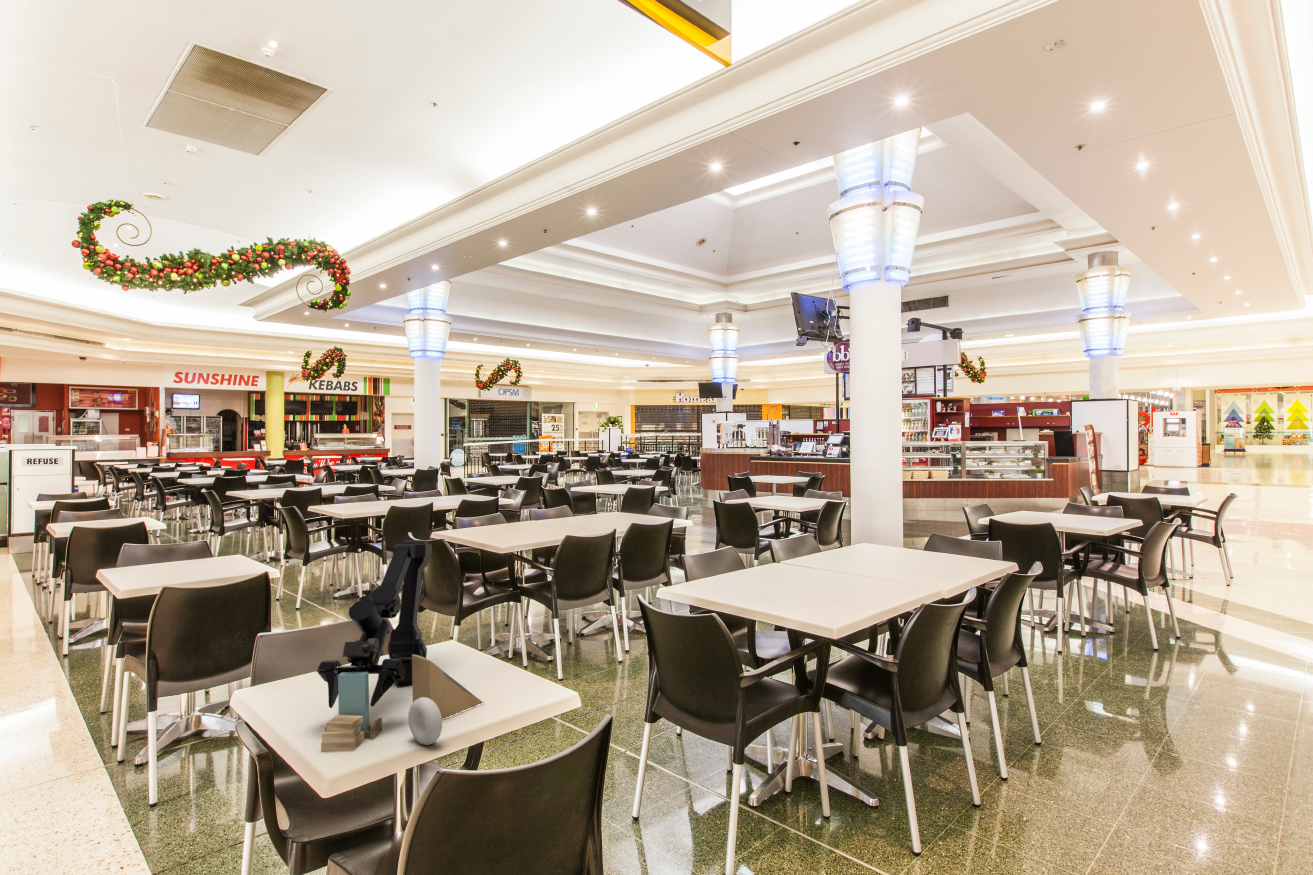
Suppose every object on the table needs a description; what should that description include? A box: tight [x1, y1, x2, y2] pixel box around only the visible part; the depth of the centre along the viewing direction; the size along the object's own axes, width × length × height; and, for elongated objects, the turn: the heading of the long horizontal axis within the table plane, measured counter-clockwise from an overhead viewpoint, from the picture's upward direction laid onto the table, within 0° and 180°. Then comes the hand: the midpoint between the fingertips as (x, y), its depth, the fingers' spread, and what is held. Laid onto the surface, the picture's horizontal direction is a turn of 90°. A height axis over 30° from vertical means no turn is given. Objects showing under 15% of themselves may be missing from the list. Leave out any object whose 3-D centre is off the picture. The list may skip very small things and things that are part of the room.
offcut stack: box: [320, 714, 365, 753], centre depth 138 cm, size 5×7×6 cm
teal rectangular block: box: [337, 672, 370, 731], centre depth 143 cm, size 2×6×14 cm, turn 91°
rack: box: [324, 716, 383, 740], centre depth 143 cm, size 4×11×3 cm, turn 91°
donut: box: [407, 697, 443, 746], centre depth 139 cm, size 10×4×10 cm, turn 54°
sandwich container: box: [411, 654, 484, 719], centre depth 157 cm, size 9×15×15 cm, turn 140°
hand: (350, 706), depth 142 cm, fingers open, 9 cm apart
